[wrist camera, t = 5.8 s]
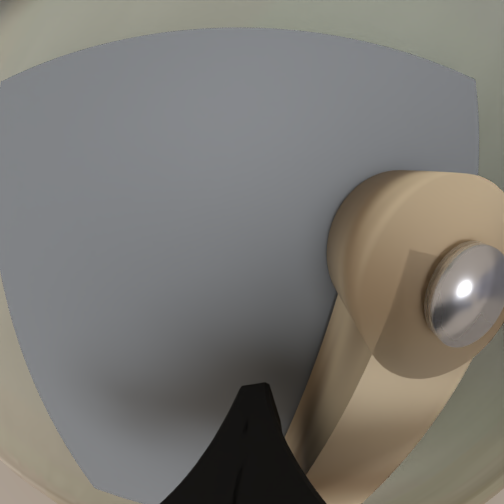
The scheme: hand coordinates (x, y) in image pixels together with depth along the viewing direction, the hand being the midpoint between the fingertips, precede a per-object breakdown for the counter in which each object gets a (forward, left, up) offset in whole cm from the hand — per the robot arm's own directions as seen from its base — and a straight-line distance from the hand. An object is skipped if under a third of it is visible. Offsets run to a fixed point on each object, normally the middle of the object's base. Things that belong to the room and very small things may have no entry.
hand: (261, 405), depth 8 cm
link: (-3, +1, -1) cm, 3 cm away
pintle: (-4, -5, +2) cm, 7 cm away
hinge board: (+2, +1, -2) cm, 3 cm away
